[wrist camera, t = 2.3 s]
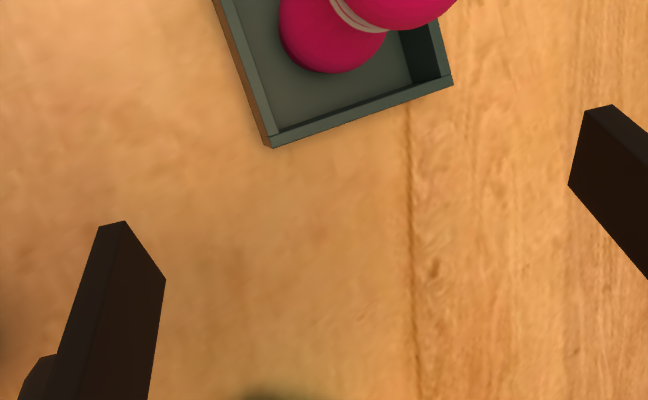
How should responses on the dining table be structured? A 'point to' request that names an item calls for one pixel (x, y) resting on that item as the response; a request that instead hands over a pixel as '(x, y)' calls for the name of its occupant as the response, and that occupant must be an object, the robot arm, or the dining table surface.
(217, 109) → the dining table surface
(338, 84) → the bin
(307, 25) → the pepper mill
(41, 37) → the dining table surface
